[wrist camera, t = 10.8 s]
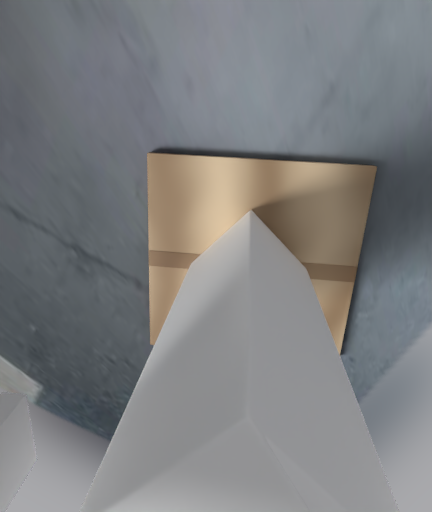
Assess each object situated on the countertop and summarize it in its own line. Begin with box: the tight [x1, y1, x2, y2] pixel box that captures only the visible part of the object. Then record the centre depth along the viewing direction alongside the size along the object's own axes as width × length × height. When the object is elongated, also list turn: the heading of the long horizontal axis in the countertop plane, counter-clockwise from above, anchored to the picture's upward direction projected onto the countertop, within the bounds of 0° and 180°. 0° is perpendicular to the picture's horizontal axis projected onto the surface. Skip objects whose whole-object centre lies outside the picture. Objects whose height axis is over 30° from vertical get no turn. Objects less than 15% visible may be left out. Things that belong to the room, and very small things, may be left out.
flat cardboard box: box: [147, 152, 377, 355], centre depth 26 cm, size 15×15×1 cm
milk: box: [79, 210, 399, 512], centre depth 16 cm, size 6×6×22 cm
